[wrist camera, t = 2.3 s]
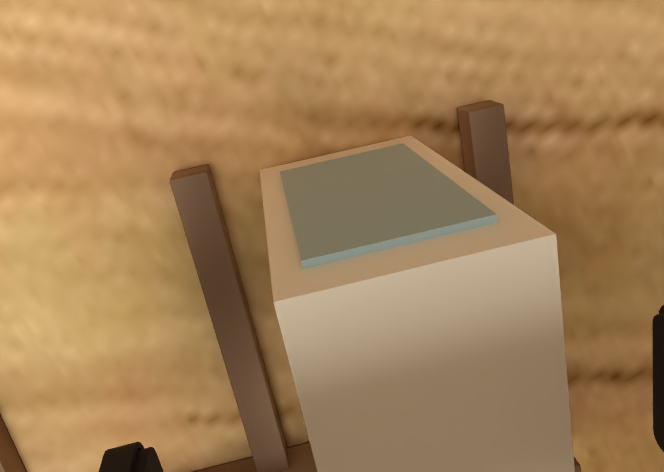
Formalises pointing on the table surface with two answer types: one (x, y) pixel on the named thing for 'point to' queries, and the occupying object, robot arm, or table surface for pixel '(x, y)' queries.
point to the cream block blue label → (417, 315)
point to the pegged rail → (232, 310)
